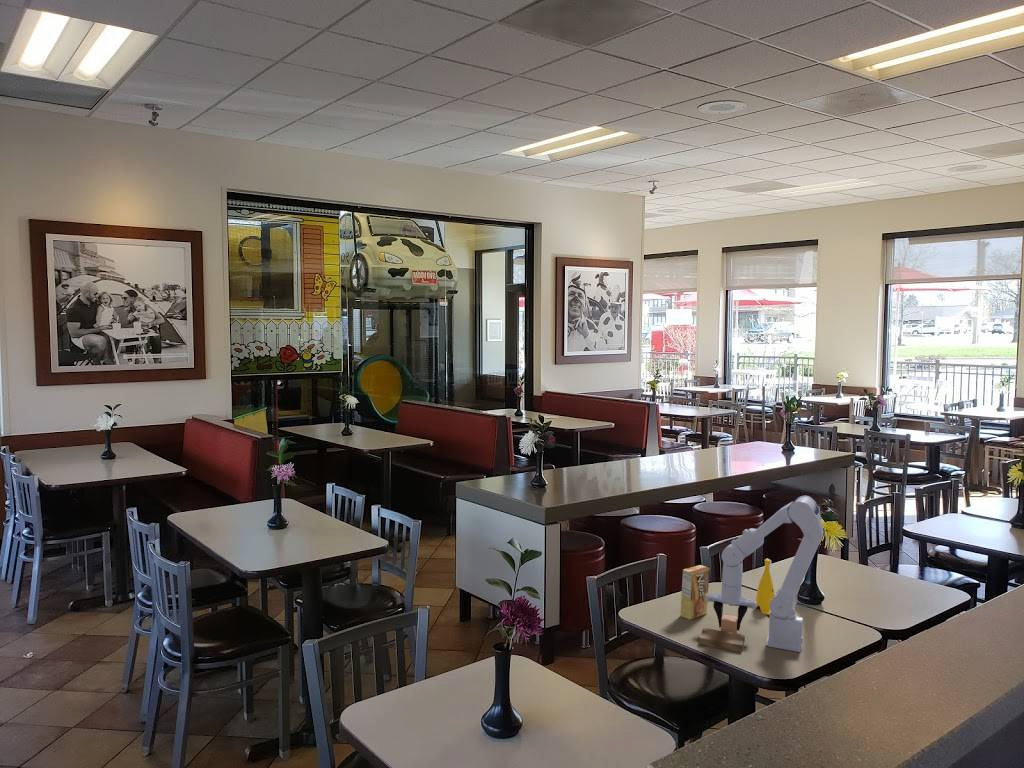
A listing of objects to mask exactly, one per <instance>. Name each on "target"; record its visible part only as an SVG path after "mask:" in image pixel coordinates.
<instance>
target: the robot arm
mask: <svg viewBox="0 0 1024 768" xmlns="http://www.w3.org/2000/svg"><path fill="white" fill-rule="evenodd" d="M792 523H795V524H796V525H797V526H798V527H799V528H800V530H801V532H802V535H803V537H802V538H801V541H800V543H799V546H798V549H797V551H796V553H795V555H794V556H793V560H792V562H791V564H790V566H789V569H788V571H787V574H786V575H785V578H784V580H783V583H782V584H781V586H780V588H779V589H777V590H776V593H774V598H773V599H771V601H770V604H769V607H770V615H769V623H768V634H767V636H766V637H767V638H766V641H765V642H766V643H765V647H770V648H775V649H780V650H787V651H793V652H798V653H800V652H802V644H803V642H804V641H803V640H804V637H803V625H804V622H803V621H804V618H803V617H802V616H799V615H797V613H796V611H795V609H794V608H795V607H796V606H797V604H798V593H799V591H800V588H801V586H802V584H803V580H804V578H805V576H806V574H807V573H808V570H809V568H810V565H811V563H812V561H813V558H814V556H815V554H816V552H817V550H818V547H819V546H820V543H821V541H822V539H823V536H824V528H823V522H822V517H821V509H820V507H819V506H818V504H817V502H816V500H815V499H813V498H812V497H811V496H809V495H801V496H799V497H797V498H795V500H794V501H791V502H789V503H787V504H786V505H784V506H783V507H780V509H779V510H777V511H776V512H775V513H774V514H773V515H771V516H770V517H769V518H768V519H767V520H766V521H765V522H763V523H762V524H761V525H759V527H758V528H748V529H747V528H746V529H744V530H743V531H742V532H741V533H742V534H741V535H740V536H739V537H738V538H736V539H732V540H731V541H730V543H731V544H729V545H727V546H726V547H725V548H724V549H723V551H722V552H721V560H722V561H723V567H722V578H721V593H718V594H717V593H709V592H708V593H707V595H706V602H707V603H710V602H713V606H712V607H713V609H714V612H715V614H716V618H717V621H718V627H719V628H721V619H722V616H723V613H724V612H723V609H724V605H730V606H736V607H738V608H737V616H738V622H737V630H738V631H740V630H741V625H742V620H743V618H744V616H746V613H747V611H748V609H751V610H756V609H757V607H756V600H752V599H748V598H744V597H742V587H743V586H742V585H743V584H742V583H743V563H744V562H743V560H744V559H745V558H747V557H748V556H750V555H751V554H752V553H754V552H755V551H756V550H757V549H759V548H761V546H763V545H764V542H765V539H764V538H765V537H767V536H768V535H769V534H770V533H771V532H773V531H775V530H776V529H777V528H778V527H780V526H782V525H783V524H792ZM738 631H737V632H738Z"/></svg>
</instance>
